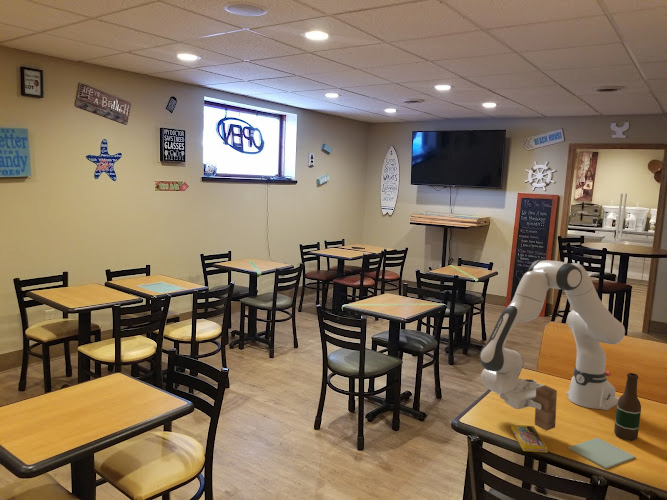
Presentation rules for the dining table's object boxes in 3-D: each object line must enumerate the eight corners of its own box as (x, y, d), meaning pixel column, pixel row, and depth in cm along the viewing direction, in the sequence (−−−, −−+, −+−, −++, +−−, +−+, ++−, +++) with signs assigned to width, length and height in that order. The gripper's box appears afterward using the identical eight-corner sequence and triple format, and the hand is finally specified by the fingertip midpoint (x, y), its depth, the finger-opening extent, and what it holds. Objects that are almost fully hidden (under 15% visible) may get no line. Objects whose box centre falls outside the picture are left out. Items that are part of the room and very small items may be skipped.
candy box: (548, 447, 174) (523, 446, 174) (548, 453, 174) (523, 452, 174) (533, 424, 190) (510, 424, 190) (533, 430, 190) (510, 429, 190)
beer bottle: (609, 431, 192) (616, 370, 188) (628, 430, 192) (635, 370, 189) (622, 441, 184) (629, 378, 181) (642, 441, 185) (650, 378, 181)
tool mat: (597, 439, 185) (597, 437, 185) (635, 458, 173) (635, 456, 173) (568, 448, 178) (568, 447, 178) (605, 469, 165) (605, 467, 165)
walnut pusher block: (543, 421, 184) (545, 385, 182) (555, 427, 180) (556, 390, 177) (534, 424, 182) (536, 387, 180) (546, 430, 178) (547, 393, 175)
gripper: (497, 387, 186) (528, 402, 173) (536, 378, 195) (567, 392, 183) (496, 403, 186) (526, 419, 174) (534, 394, 196) (566, 409, 184)
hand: (548, 405), depth 179 cm, fingers closed on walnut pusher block, 5 cm apart
